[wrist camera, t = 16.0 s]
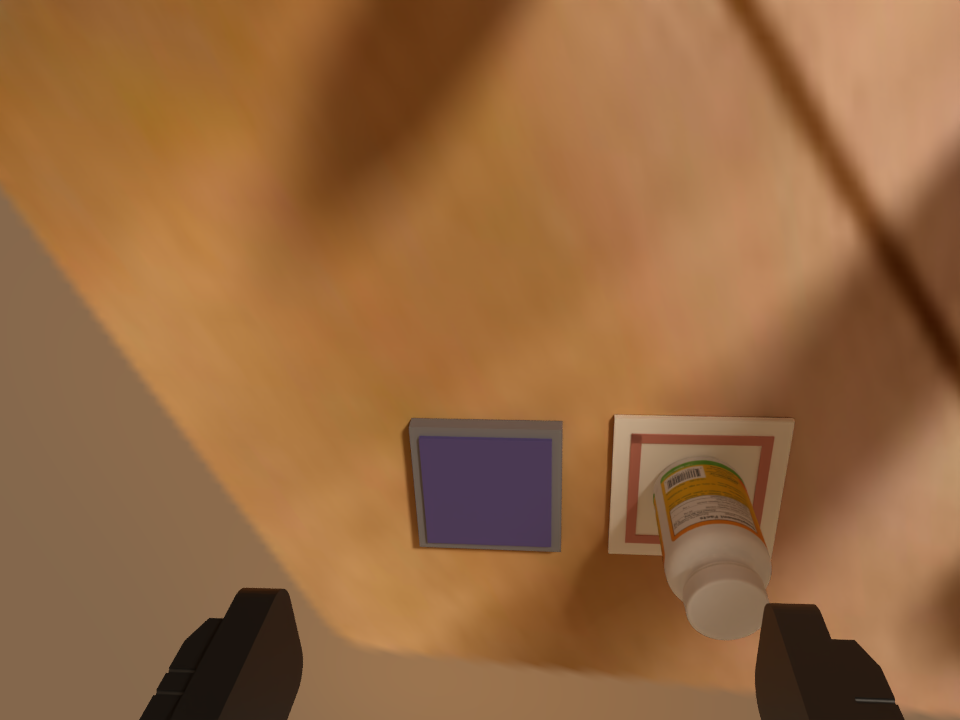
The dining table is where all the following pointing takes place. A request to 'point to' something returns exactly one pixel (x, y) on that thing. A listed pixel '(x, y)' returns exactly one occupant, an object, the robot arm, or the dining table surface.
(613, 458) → the marked card
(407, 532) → the dining table surface
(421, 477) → the ink pad
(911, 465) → the dining table surface
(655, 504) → the supplement bottle
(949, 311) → the dining table surface
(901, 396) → the dining table surface
